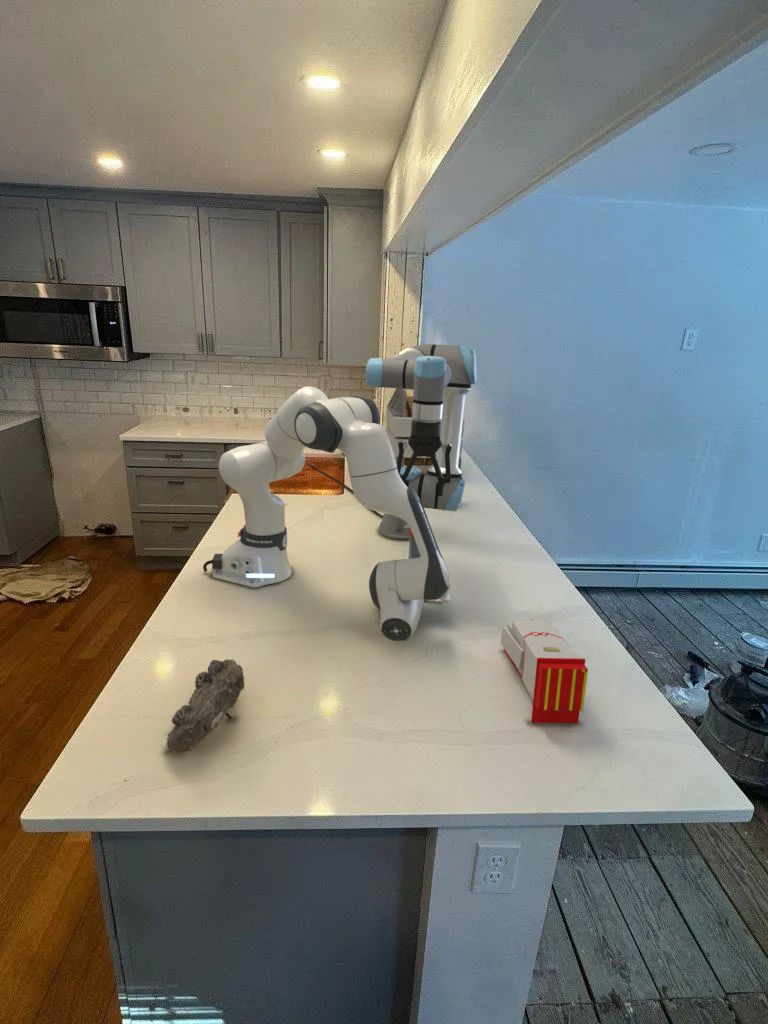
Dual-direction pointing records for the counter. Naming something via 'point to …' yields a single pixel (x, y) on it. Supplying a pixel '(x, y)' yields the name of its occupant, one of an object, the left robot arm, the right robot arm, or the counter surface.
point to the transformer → (406, 427)
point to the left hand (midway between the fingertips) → (415, 574)
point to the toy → (547, 670)
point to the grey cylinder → (413, 549)
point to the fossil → (206, 705)
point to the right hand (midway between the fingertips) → (420, 505)
